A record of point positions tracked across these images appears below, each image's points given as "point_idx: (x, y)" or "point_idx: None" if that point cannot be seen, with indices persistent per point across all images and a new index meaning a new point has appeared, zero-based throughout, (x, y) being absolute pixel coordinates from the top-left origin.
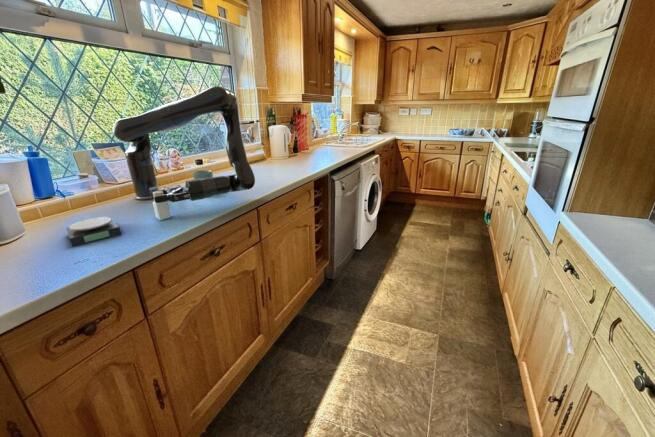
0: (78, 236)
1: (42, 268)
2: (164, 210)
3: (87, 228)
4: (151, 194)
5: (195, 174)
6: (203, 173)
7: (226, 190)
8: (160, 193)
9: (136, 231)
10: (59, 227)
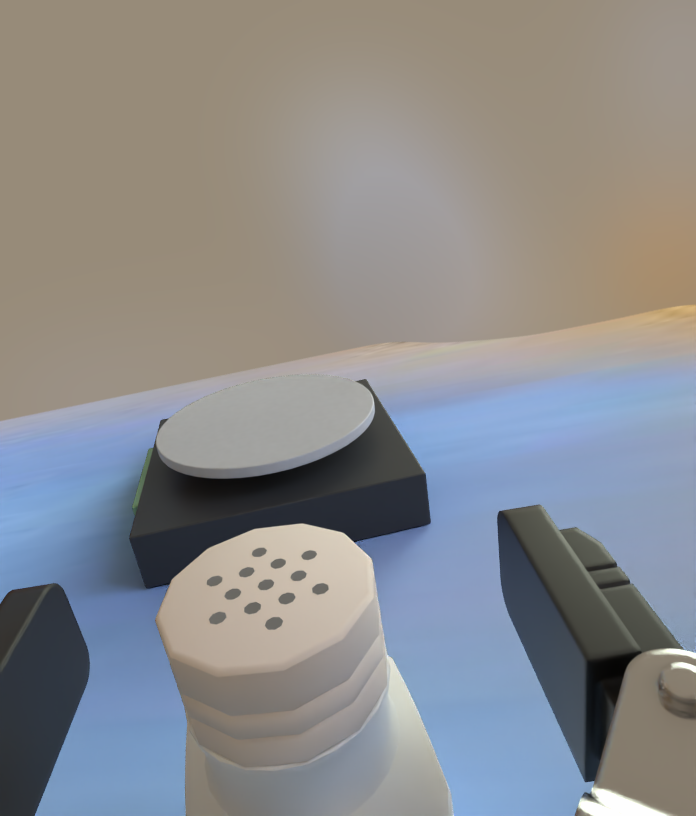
0: (157, 433)
1: (17, 448)
2: None
3: (164, 424)
4: (501, 550)
5: None
6: None
7: None
8: (164, 646)
9: (106, 668)
10: (540, 372)
